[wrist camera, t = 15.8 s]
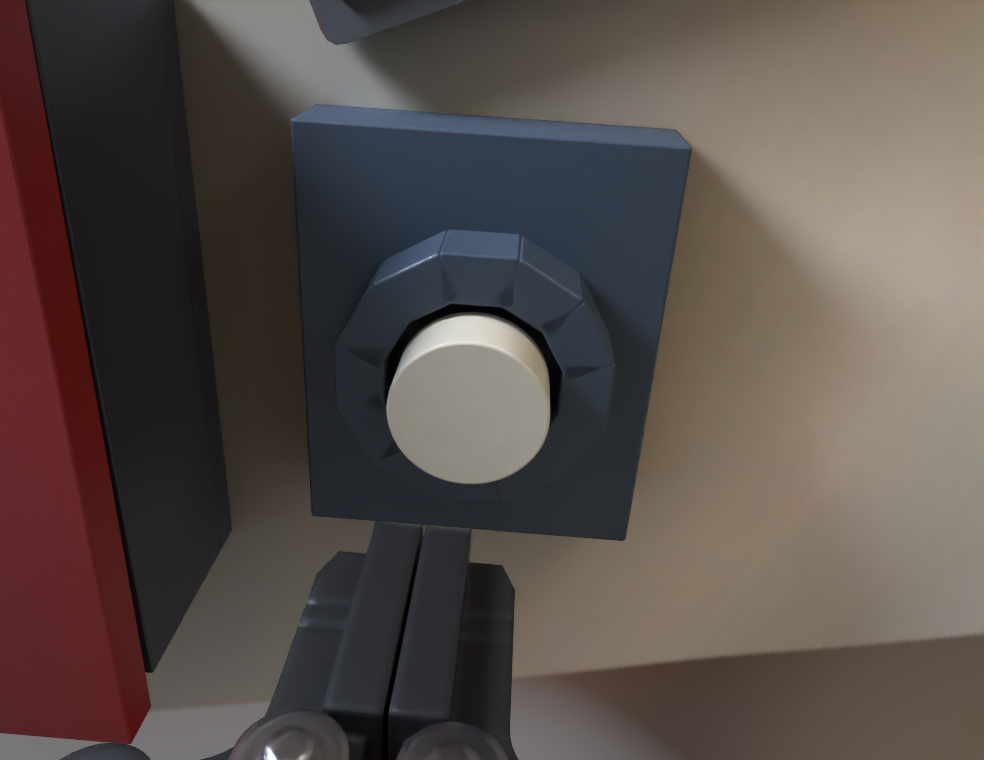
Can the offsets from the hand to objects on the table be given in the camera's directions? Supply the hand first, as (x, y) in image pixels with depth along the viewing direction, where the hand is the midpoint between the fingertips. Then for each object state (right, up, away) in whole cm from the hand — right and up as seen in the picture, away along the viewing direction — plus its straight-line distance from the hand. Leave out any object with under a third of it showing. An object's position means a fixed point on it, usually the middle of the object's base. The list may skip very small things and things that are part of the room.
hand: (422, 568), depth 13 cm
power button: (+1, +3, +6) cm, 7 cm away
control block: (+1, +5, +10) cm, 11 cm away
